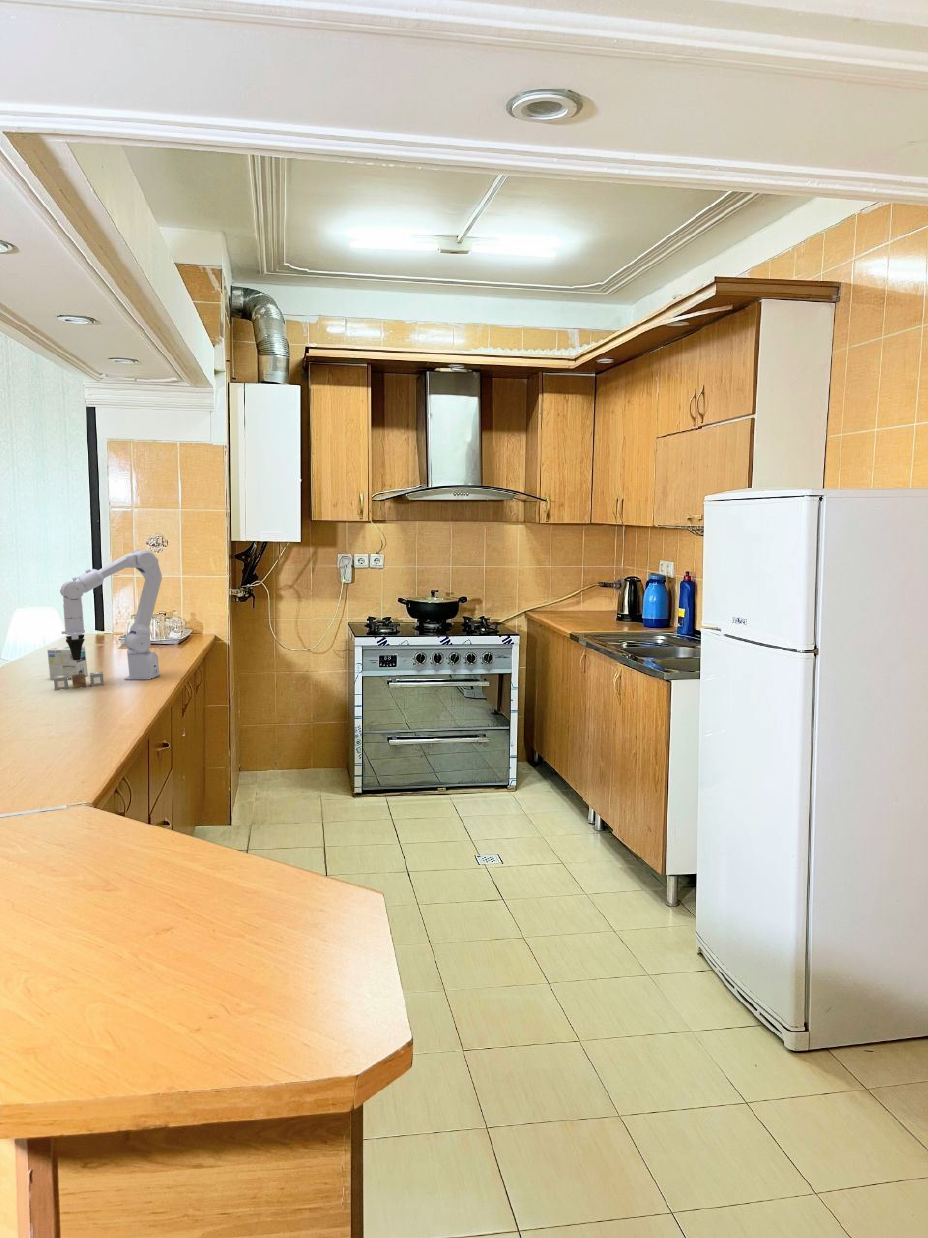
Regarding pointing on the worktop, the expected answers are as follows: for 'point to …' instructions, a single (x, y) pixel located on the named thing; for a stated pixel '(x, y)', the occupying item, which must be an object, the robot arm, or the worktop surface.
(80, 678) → the plain walnut block
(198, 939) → the worktop surface
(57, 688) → the marked grey block 1
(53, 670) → the light bulb box
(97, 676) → the marked grey block 2
